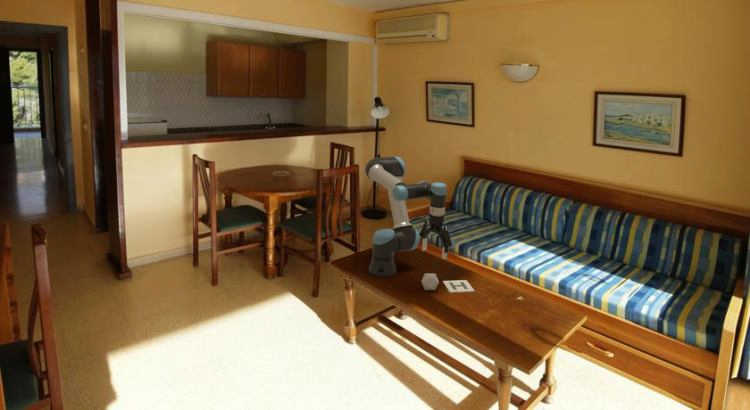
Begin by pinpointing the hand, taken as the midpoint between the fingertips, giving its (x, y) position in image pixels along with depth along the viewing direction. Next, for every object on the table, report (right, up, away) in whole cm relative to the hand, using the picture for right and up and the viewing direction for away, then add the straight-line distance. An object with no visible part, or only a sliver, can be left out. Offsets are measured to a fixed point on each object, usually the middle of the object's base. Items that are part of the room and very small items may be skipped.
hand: (434, 254), depth 247 cm
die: (-2, -18, +4) cm, 19 cm away
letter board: (+14, -18, +8) cm, 24 cm away
